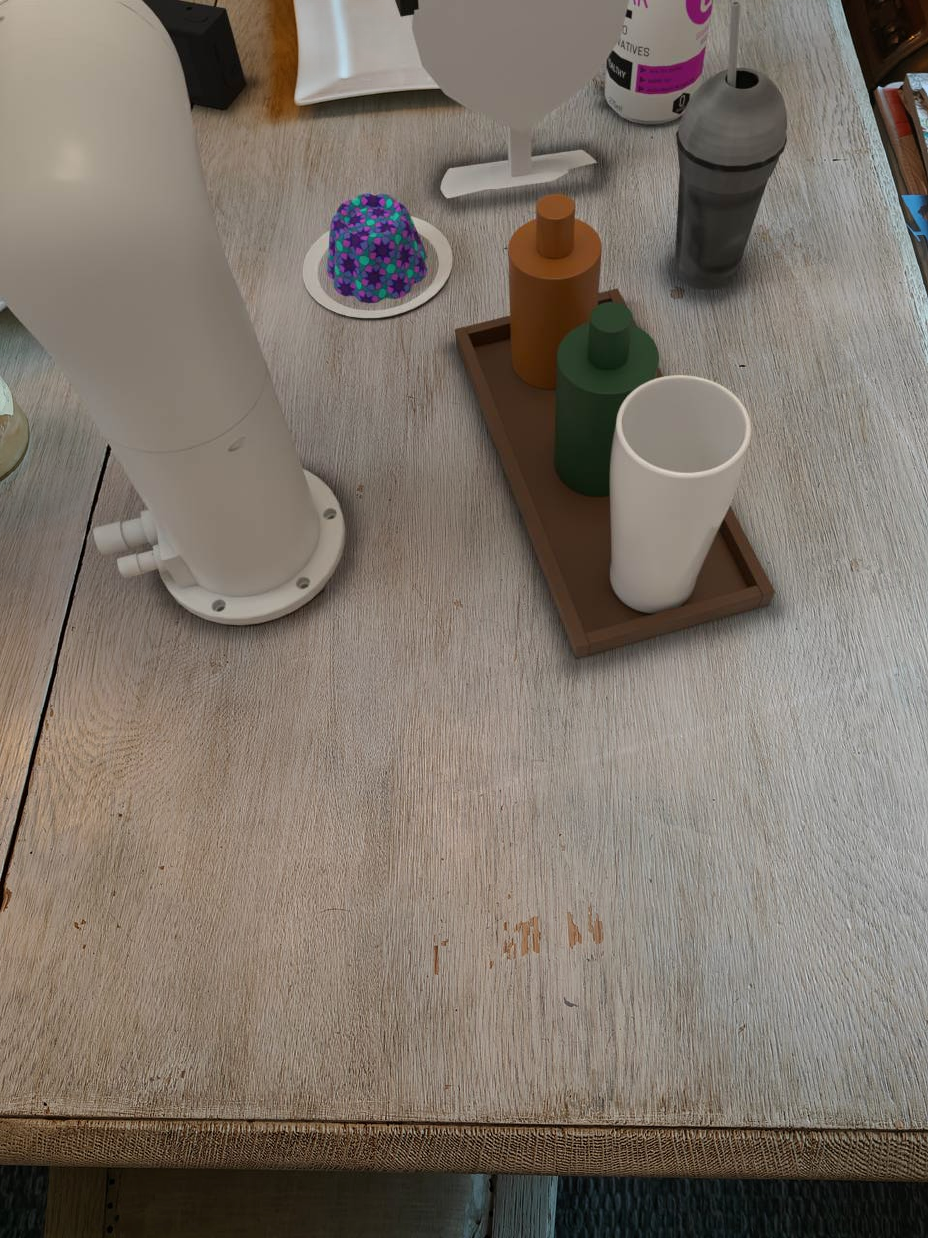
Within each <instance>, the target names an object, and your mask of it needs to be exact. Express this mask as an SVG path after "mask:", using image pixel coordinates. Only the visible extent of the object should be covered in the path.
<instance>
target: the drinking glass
mask: <svg viewBox="0 0 928 1238" xmlns="http://www.w3.org/2000/svg"><path fill="white" fill-rule="evenodd" d="M751 437H752V424H751V419H750V415H749V412H748V410H747V409H746V406H745V405H744V404H743V402H742V401H741V400H740V398H739V397H738V396H736V394H734V393H733V392H732V390H731V391H730V389H728V388H726V386H723V385H722V384H720V383H717V382H716V381H713V380H710V379H708V378H704V377H702V376H701V377H700V376H697V375H688V374H671V375H665V376H664V375H663V377H660V378H656V379H653V380H650V381H648V382H646V383H644V384H642V385H640V386H639V387H637V388H636V389H635V390H633V391H632V392H631V393H630V394H629V395H628V396H627V397H626V399H625V400H624V401H623V403H622V405H621V406H620V409H619V411H618V414H617V419H616V425H615V430H614V436H613V441H612V448H611V458H610V475H609V488H610V521H611V564H610V582H611V585H612V588H613V590H614V592H615V594H616V595H617V596H618V598H619V599H620V600H621V601H622V602H623V603H625V604H626V605H627V606H629V607H630V608H632V609H634V610H637V611H640V612H644V613H650V614H656V613H660V612H663V611H667V610H670V609H674V608H677V607H679V606H681V605H682V604H683V603H685V602H686V601H687V599H688V598H689V597H690V595H691V594H692V592H693V590H694V588H695V585H696V581H697V578H698V574H699V572H700V570H701V568H702V565H703V563H704V561H705V559H706V556H707V554H708V552H709V550H710V548H711V545H712V543H713V541H714V539H715V537H716V535H717V532H718V530H719V528H720V526H721V524H722V522H723V520H724V517H725V515H726V513H727V511H728V509H729V506H731V504H732V501H733V500H734V497H735V495H736V492H737V490H738V486H739V484H740V481H741V477H742V474H743V470H744V467H745V464H746V460H747V456H748V455H747V454H748V451H749V446H750V443H751V442H750V440H751Z"/></svg>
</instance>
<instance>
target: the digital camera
mask: <svg viewBox="0 0 928 1238" xmlns="http://www.w3.org/2000/svg"><path fill="white" fill-rule="evenodd" d="M142 1H143V2H144V3H145V4H146V5H147V6H148V7H149V8H150V9H151V10H152V11H153V13H154V14H155V15H156V16H157V18H158V19H159V20H160V22H161V23H162V25H163V26H164V28H165V29H166V31H167V32H168V34H169V36H170V38H171V40H172V42H173V44H174V46H175V49H176V51H177V54H178V56H179V59H180V63H181V66H182V69H183V73H184V77H185V82H186V87H187V92H188V96H189V101H190V104H193V105H194V104H195V105H199V106H205V107H209V108H214V109H218V110H224V111H226V110H227V108H228V107H229V106H230V105H231V104H232V102H233V101H234V100H235V99H236V97H237V96H238V95H239V93H241V92H242V90H243V89H244V88H245V86H247V81H246V77H245V74H244V71H243V66H242V63H241V59H240V54H239V51H238V48H237V44H236V39H235V36H234V31H233V28H232V25H231V22H230V17H229V15H228V12H227V11H228V10H227V8H226V7H221V6H215V5H209V4H204V3H200V2H199V3H198V2H193V1H186V0H142Z"/></svg>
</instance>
